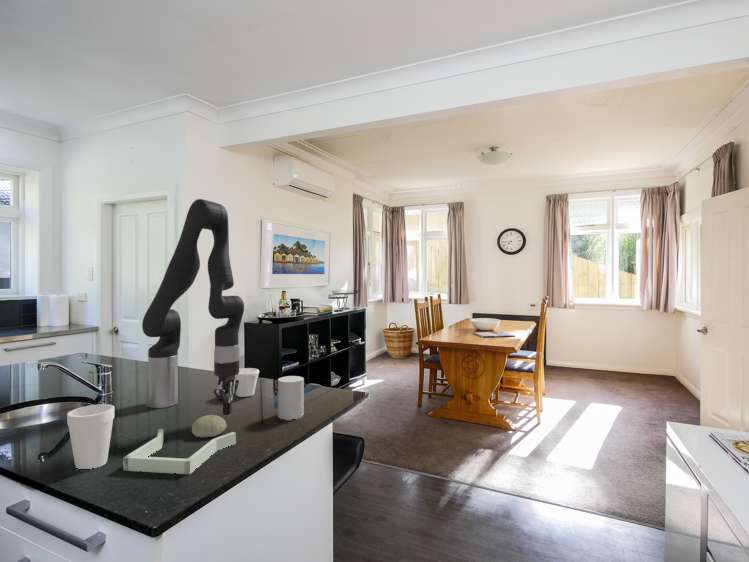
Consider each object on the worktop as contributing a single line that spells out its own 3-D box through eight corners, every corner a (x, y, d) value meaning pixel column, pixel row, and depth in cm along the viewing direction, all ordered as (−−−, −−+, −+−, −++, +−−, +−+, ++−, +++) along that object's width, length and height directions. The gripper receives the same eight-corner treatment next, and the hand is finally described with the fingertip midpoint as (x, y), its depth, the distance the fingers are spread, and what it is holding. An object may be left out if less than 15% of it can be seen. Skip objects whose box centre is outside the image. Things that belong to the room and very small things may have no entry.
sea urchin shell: (217, 434, 114) (198, 412, 115) (199, 452, 115) (181, 430, 116) (234, 422, 123) (217, 402, 124) (218, 439, 124) (200, 419, 125)
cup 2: (308, 413, 137) (308, 377, 137) (295, 421, 130) (295, 383, 129) (286, 410, 140) (286, 375, 140) (273, 418, 132) (273, 380, 132)
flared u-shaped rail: (111, 469, 97) (111, 457, 97) (159, 439, 115) (159, 428, 115) (202, 475, 95) (202, 462, 95) (236, 443, 113) (236, 432, 113)
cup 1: (260, 397, 154) (260, 372, 154) (232, 400, 151) (232, 375, 151) (257, 390, 164) (257, 367, 164) (230, 393, 160) (230, 369, 160)
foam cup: (83, 456, 104) (83, 404, 104) (122, 454, 105) (122, 403, 105) (58, 474, 95) (57, 417, 95) (100, 472, 96) (100, 416, 95)
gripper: (225, 355, 138) (225, 407, 138) (204, 363, 124) (205, 421, 125) (247, 355, 137) (247, 407, 137) (228, 364, 124) (229, 421, 124)
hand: (227, 414), depth 131 cm, fingers closed
